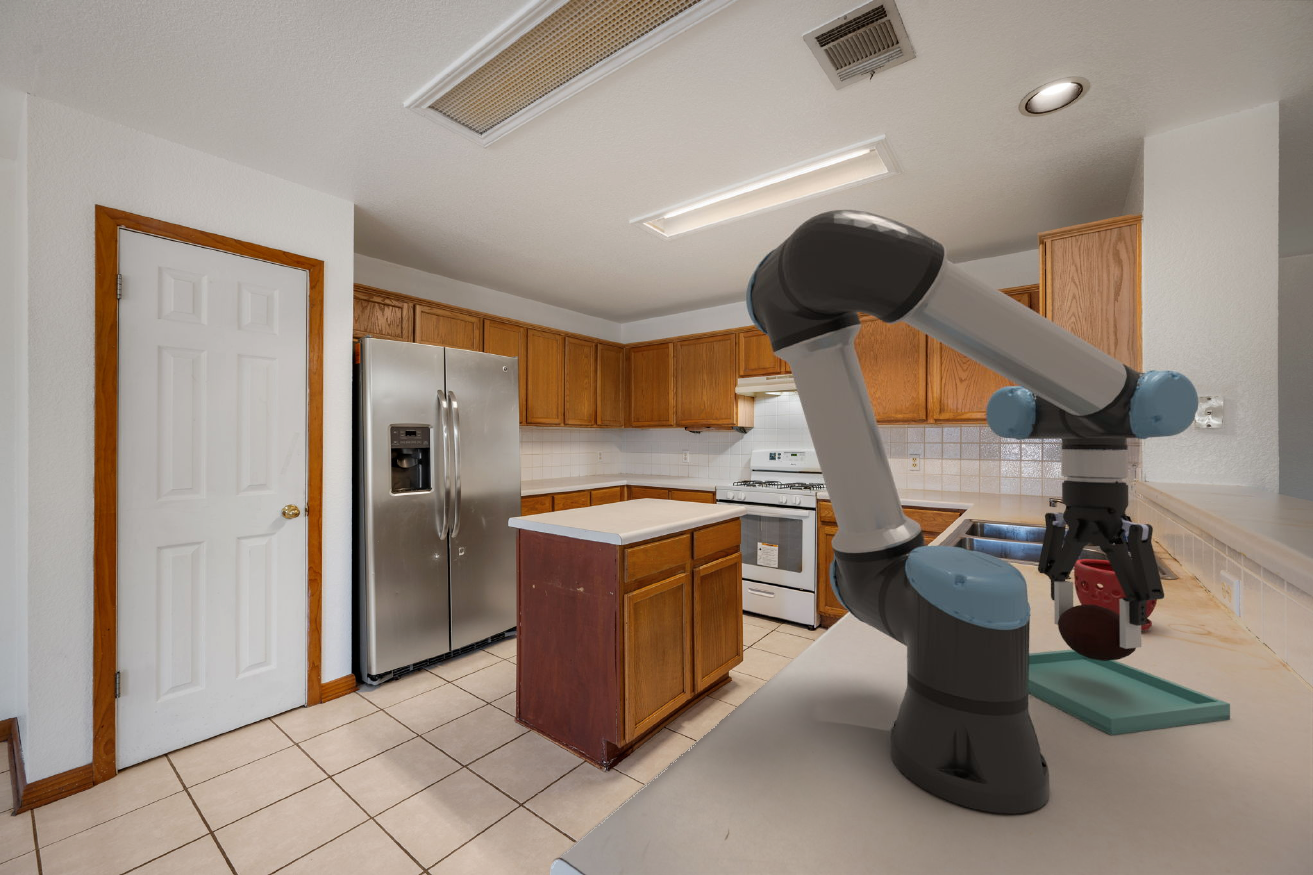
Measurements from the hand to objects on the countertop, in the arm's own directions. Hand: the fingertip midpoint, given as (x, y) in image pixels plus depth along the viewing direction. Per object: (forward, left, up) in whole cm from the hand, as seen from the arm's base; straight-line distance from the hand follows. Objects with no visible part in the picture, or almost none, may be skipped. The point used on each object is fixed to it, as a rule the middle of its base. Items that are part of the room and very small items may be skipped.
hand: (1095, 634), depth 78 cm
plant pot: (+34, +23, -9) cm, 42 cm away
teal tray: (0, 0, -8) cm, 8 cm away
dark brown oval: (0, 0, -4) cm, 4 cm away
